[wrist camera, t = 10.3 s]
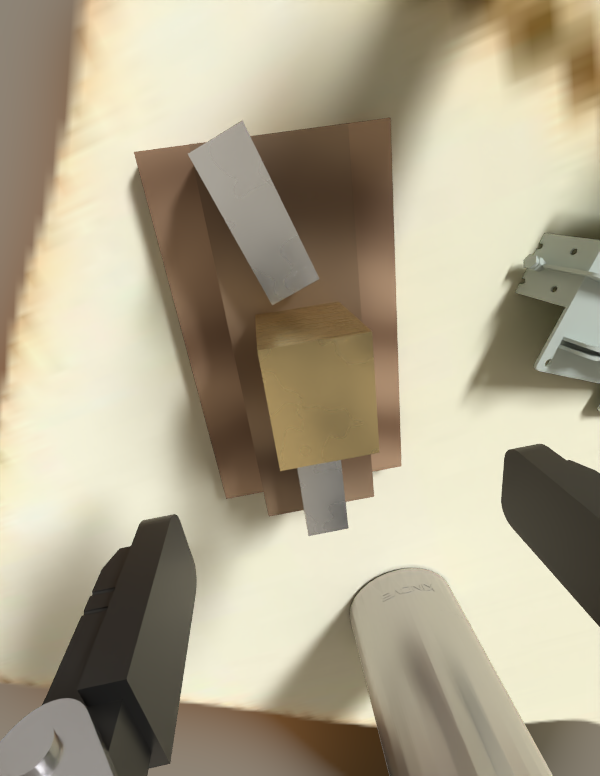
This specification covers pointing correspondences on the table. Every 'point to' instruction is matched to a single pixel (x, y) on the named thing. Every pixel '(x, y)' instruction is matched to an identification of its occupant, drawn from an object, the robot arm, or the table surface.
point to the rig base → (210, 308)
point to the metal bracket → (568, 304)
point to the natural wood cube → (318, 384)
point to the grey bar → (269, 275)
